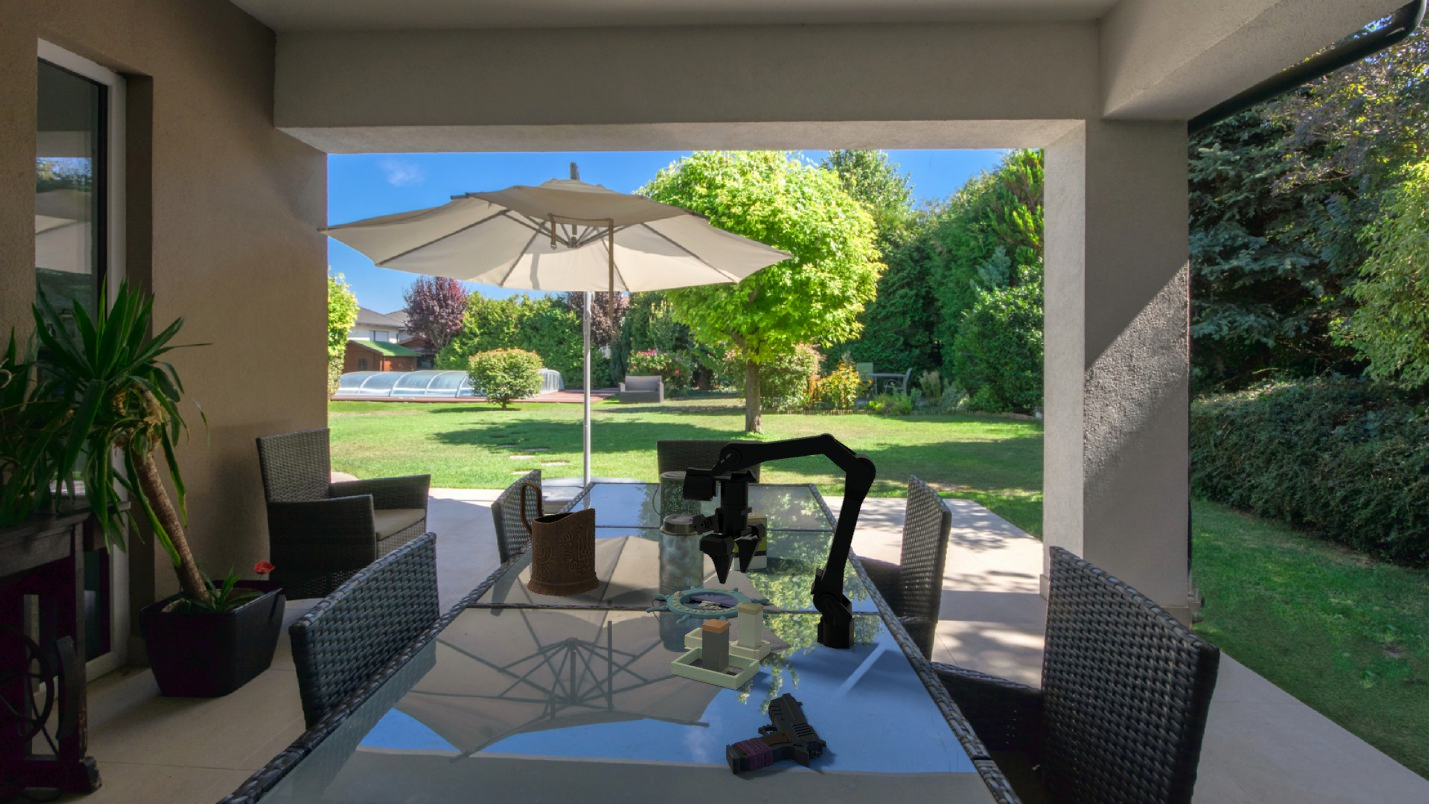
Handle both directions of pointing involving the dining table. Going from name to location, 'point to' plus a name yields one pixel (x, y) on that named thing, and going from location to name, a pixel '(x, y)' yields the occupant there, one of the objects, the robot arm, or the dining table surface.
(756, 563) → the tea box
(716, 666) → the block
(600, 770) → the dining table surface
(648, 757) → the dining table surface
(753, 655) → the fuse block
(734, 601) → the decorative ship wheel
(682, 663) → the tray
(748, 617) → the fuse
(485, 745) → the dining table surface
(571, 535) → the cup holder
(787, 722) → the handgun
